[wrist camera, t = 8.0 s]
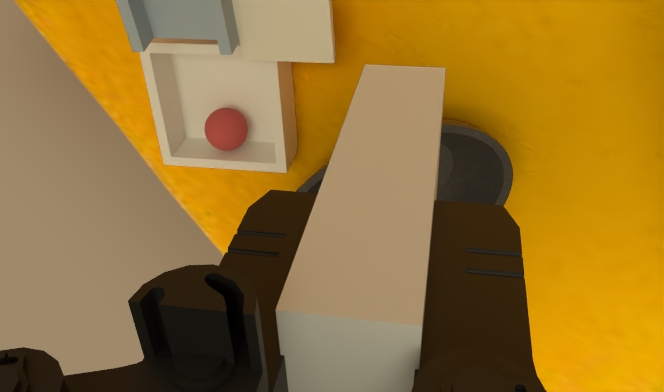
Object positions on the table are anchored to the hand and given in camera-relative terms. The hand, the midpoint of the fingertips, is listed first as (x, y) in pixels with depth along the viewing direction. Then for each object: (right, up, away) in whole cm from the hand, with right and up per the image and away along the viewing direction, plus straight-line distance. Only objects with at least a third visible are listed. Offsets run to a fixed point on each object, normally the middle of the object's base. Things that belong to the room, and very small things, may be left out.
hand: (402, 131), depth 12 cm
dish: (-10, +8, +39) cm, 41 cm away
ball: (-10, +4, +39) cm, 40 cm away
